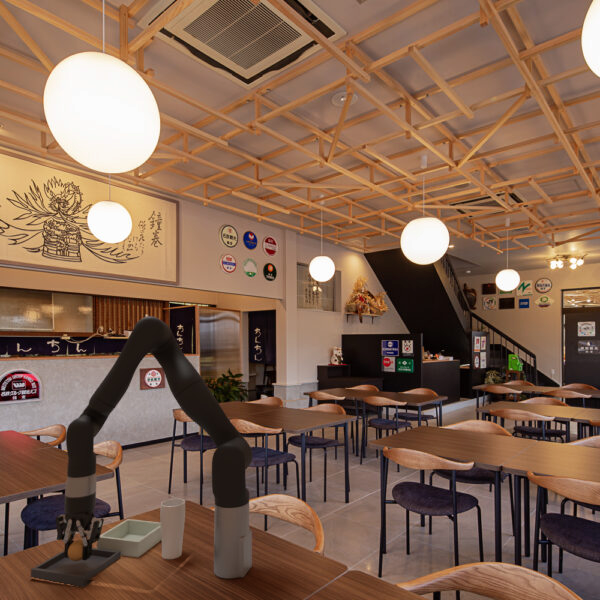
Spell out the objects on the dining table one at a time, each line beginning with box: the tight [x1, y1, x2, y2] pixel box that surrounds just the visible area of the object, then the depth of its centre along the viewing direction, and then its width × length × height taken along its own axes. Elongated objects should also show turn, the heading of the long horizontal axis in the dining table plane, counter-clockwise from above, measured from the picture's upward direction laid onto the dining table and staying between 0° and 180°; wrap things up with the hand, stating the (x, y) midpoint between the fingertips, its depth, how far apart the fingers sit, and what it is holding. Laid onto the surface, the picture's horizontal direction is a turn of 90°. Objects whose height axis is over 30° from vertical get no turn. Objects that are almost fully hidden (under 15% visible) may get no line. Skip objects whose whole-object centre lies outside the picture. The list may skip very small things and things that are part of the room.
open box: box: [96, 518, 162, 558], centre depth 129 cm, size 14×14×5 cm
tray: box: [30, 547, 122, 589], centre depth 116 cm, size 16×14×2 cm
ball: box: [68, 539, 84, 561], centre depth 117 cm, size 5×5×5 cm
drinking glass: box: [159, 498, 186, 560], centre depth 123 cm, size 7×7×15 cm
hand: (77, 557), depth 116 cm, fingers closed on ball, 5 cm apart
